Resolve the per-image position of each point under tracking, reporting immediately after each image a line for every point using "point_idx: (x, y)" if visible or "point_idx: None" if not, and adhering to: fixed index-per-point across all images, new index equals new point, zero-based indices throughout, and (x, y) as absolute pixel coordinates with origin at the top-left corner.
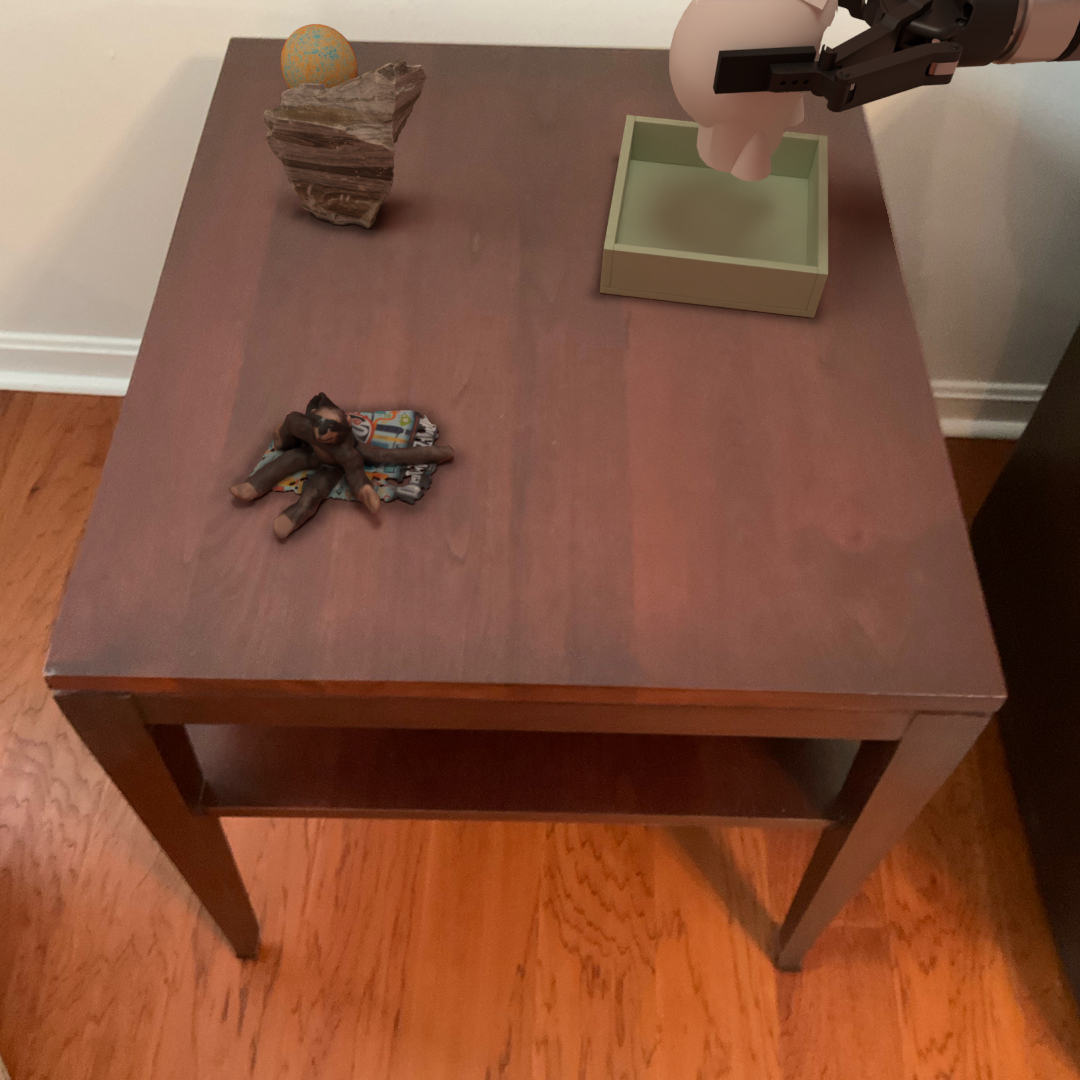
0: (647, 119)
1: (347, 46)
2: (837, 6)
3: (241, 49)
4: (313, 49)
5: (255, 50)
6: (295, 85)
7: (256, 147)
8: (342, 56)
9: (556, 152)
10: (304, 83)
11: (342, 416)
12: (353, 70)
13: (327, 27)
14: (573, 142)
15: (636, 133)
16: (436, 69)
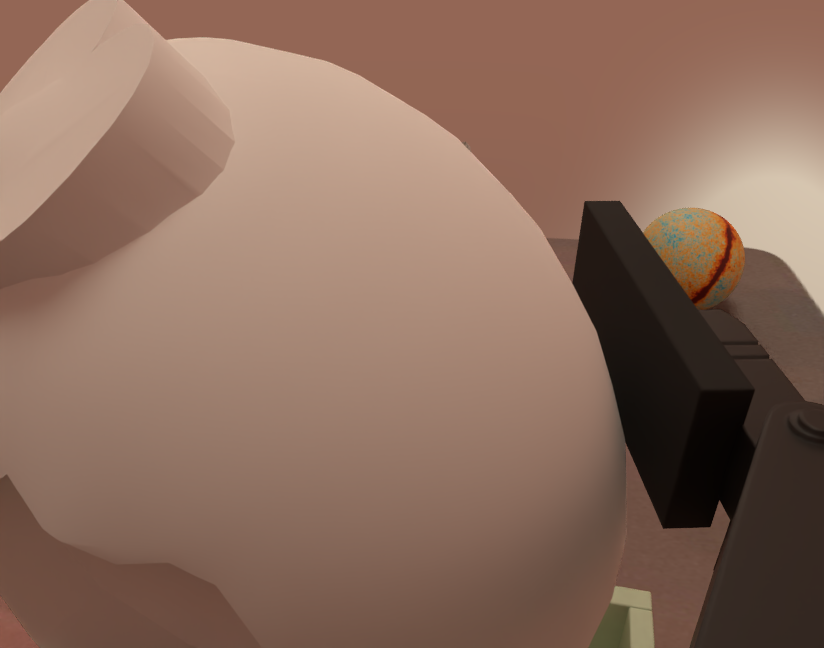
0: (641, 635)
1: (706, 254)
2: (65, 510)
3: (754, 250)
4: (666, 221)
5: (758, 258)
6: None
7: (562, 264)
8: (682, 252)
9: (626, 549)
10: (465, 143)
11: None
12: (684, 280)
13: (719, 225)
14: (668, 580)
15: (623, 635)
16: (813, 401)
